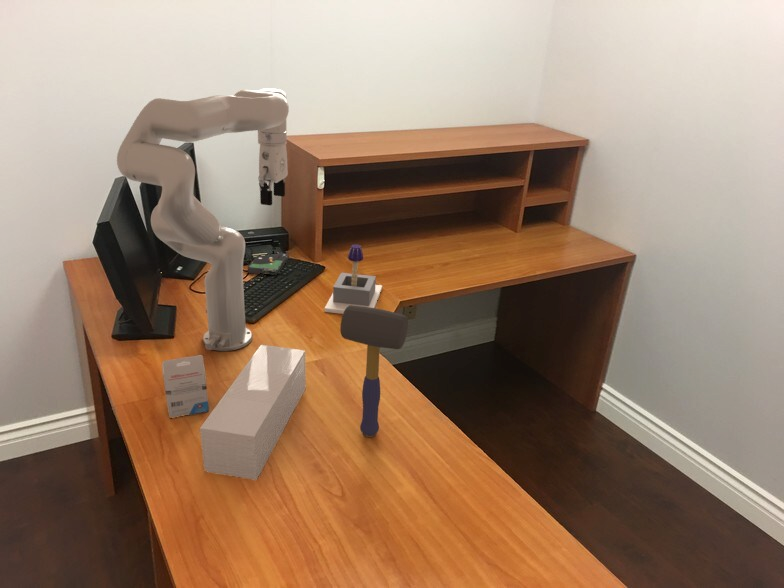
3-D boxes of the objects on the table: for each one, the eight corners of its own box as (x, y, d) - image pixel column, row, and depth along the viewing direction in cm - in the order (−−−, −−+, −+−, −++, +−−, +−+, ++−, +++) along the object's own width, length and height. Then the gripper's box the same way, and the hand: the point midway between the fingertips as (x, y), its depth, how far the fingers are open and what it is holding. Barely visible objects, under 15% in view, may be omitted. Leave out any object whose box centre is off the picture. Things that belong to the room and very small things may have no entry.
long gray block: (262, 382, 150) (261, 344, 145) (305, 389, 148) (305, 350, 144) (204, 472, 121) (199, 428, 116) (256, 481, 120) (254, 436, 115)
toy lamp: (363, 294, 193) (365, 244, 186) (359, 300, 189) (360, 249, 182) (349, 292, 194) (350, 242, 187) (344, 298, 190) (345, 247, 183)
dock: (371, 317, 182) (371, 298, 180) (324, 311, 184) (324, 292, 181) (381, 288, 200) (382, 271, 198) (339, 284, 202) (339, 266, 199)
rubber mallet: (401, 430, 136) (411, 307, 123) (391, 451, 129) (400, 324, 116) (348, 417, 139) (351, 296, 126) (335, 437, 132) (338, 312, 119)
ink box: (206, 399, 142) (200, 343, 136) (209, 411, 138) (204, 355, 132) (166, 406, 139) (159, 350, 133) (169, 419, 135) (161, 361, 128)
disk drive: (260, 258, 220) (247, 274, 206) (260, 250, 218) (247, 266, 205) (289, 260, 219) (278, 277, 205) (289, 253, 218) (277, 269, 204)
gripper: (273, 144, 158) (274, 210, 165) (296, 134, 173) (296, 194, 180) (245, 141, 159) (247, 206, 166) (270, 131, 174) (271, 191, 181)
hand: (273, 200), depth 173 cm, fingers open, 9 cm apart
